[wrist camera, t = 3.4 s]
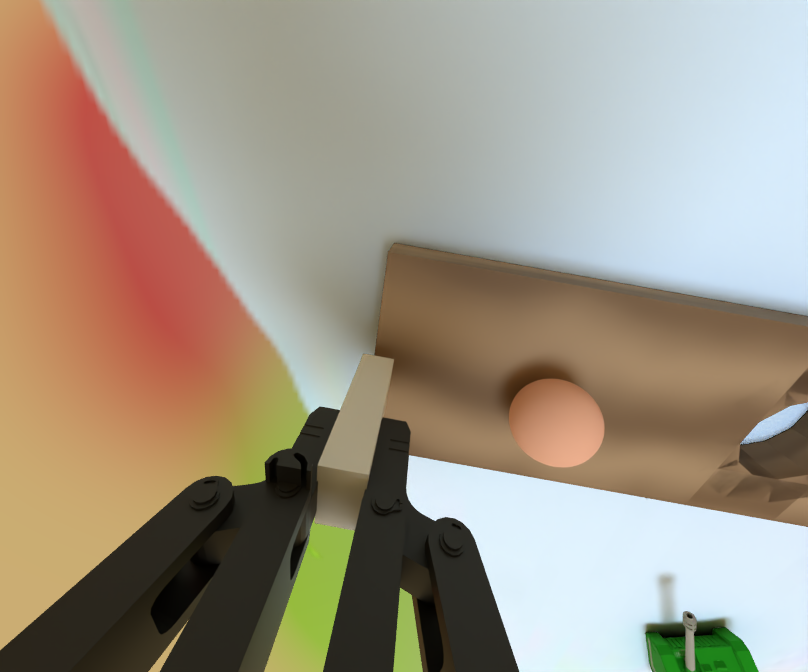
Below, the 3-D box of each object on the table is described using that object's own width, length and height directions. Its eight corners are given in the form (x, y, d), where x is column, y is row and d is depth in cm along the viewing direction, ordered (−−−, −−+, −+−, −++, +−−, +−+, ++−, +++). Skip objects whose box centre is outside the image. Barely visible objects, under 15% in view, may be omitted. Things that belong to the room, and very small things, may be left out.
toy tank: (728, 563, 25) (793, 645, 20) (721, 664, 32) (768, 741, 28) (636, 573, 26) (678, 651, 22) (649, 667, 34) (682, 740, 29)
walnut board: (394, 242, 16) (387, 251, 13) (968, 344, 16) (1058, 371, 13) (369, 419, 21) (362, 446, 19) (797, 495, 21) (841, 533, 19)
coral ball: (514, 356, 15) (540, 408, 12) (593, 370, 15) (644, 427, 12) (492, 417, 17) (508, 478, 13) (562, 430, 17) (597, 494, 13)
